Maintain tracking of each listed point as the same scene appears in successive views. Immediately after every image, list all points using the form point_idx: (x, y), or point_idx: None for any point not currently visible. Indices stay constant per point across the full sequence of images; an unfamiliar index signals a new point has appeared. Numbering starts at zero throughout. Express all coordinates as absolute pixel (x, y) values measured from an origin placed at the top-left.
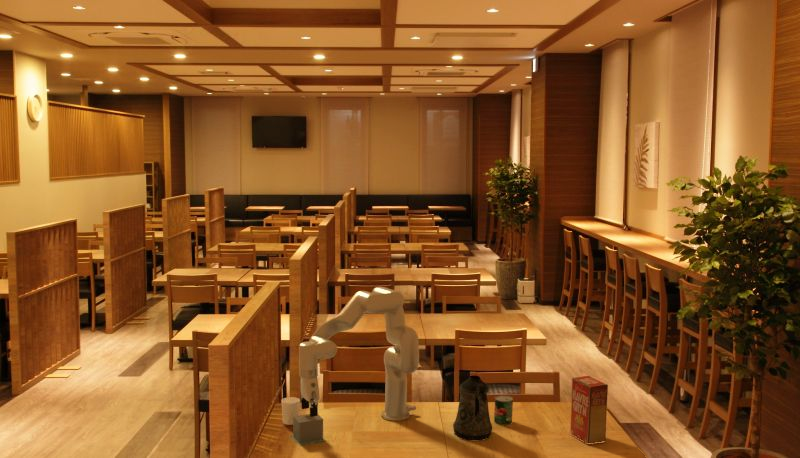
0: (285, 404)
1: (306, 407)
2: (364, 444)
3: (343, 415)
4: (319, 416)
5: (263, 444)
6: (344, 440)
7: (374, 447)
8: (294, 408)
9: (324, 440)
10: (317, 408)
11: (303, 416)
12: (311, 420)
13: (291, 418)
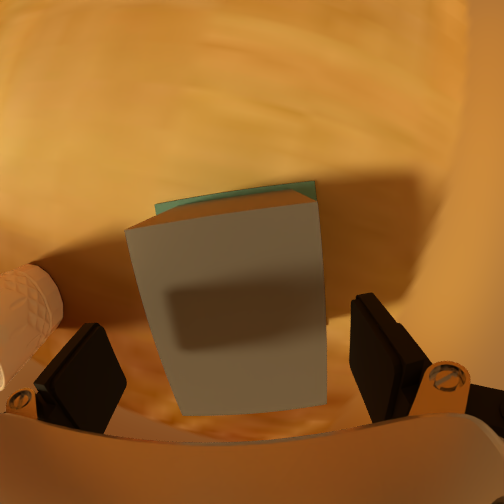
0: (8, 381)
1: (107, 354)
2: (401, 20)
3: (22, 53)
4: (230, 221)
5: (258, 437)
6: (335, 76)
7: (434, 8)
8: (12, 329)
9: (312, 185)
10: (408, 340)
11: (193, 359)
12: (314, 319)
13: (46, 317)
